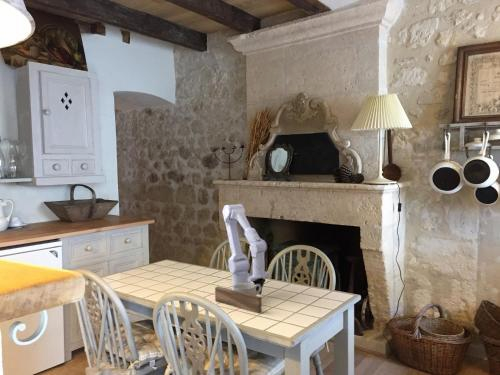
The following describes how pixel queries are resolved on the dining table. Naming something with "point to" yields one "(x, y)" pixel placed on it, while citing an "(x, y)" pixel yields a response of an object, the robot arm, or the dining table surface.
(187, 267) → the dining table surface
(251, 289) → the teacup
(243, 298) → the wall board
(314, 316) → the dining table surface
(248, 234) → the robot arm
